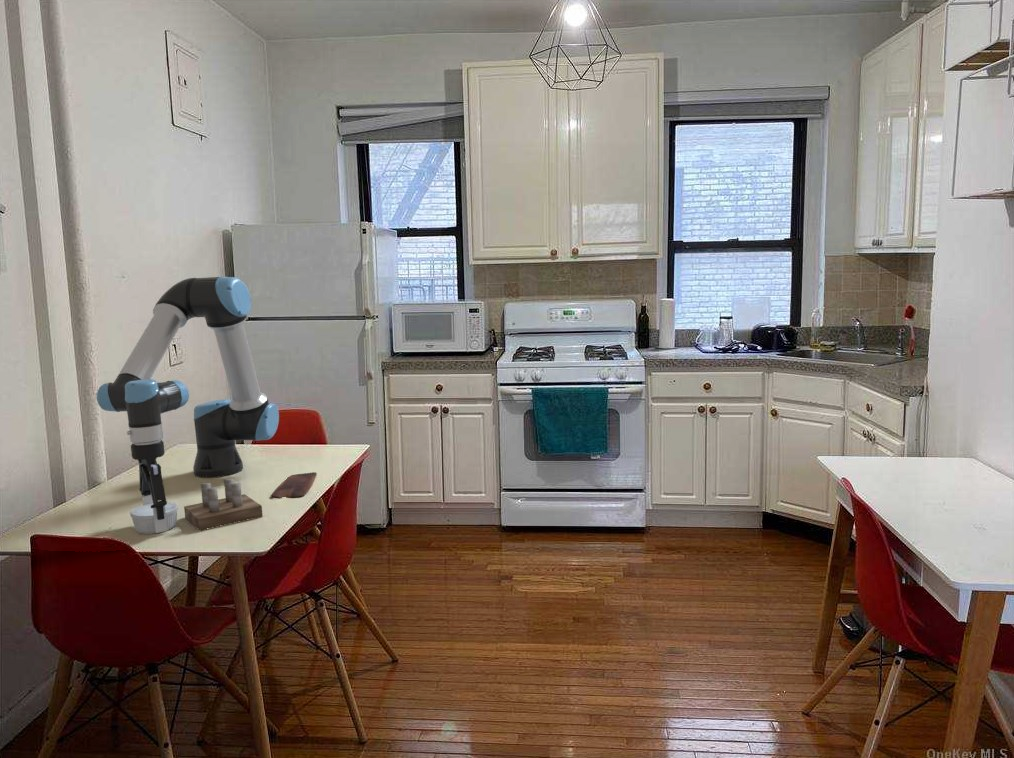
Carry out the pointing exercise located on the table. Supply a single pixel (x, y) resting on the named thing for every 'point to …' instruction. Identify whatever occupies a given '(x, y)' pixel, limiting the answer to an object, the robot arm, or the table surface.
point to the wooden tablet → (295, 486)
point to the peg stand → (222, 506)
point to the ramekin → (152, 517)
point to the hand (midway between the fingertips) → (155, 525)
